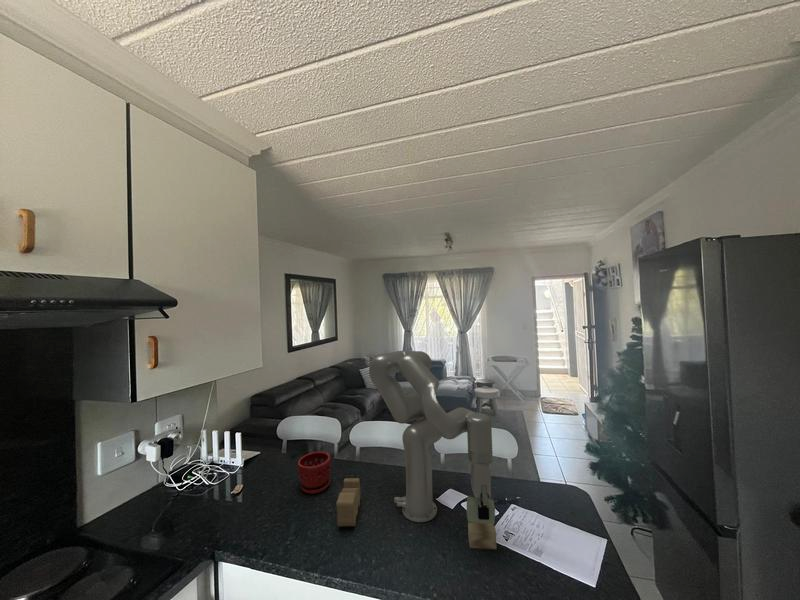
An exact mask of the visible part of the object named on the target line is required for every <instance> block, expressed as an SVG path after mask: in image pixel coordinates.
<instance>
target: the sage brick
mask: <svg viewBox="0 0 800 600" xmlns="http://www.w3.org/2000/svg"><path fill="white" fill-rule="evenodd" d="M481 501H483V499H481ZM478 505H479V499H478V498H475V497H474V496H466V511H465V513H466V518H467V521H474V522H482V523H491V524H494V525H495V520H496V519H495V518H496V506H495V503H494V500H493V498H488V505H489V520H480V519H479V518H478Z"/></svg>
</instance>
